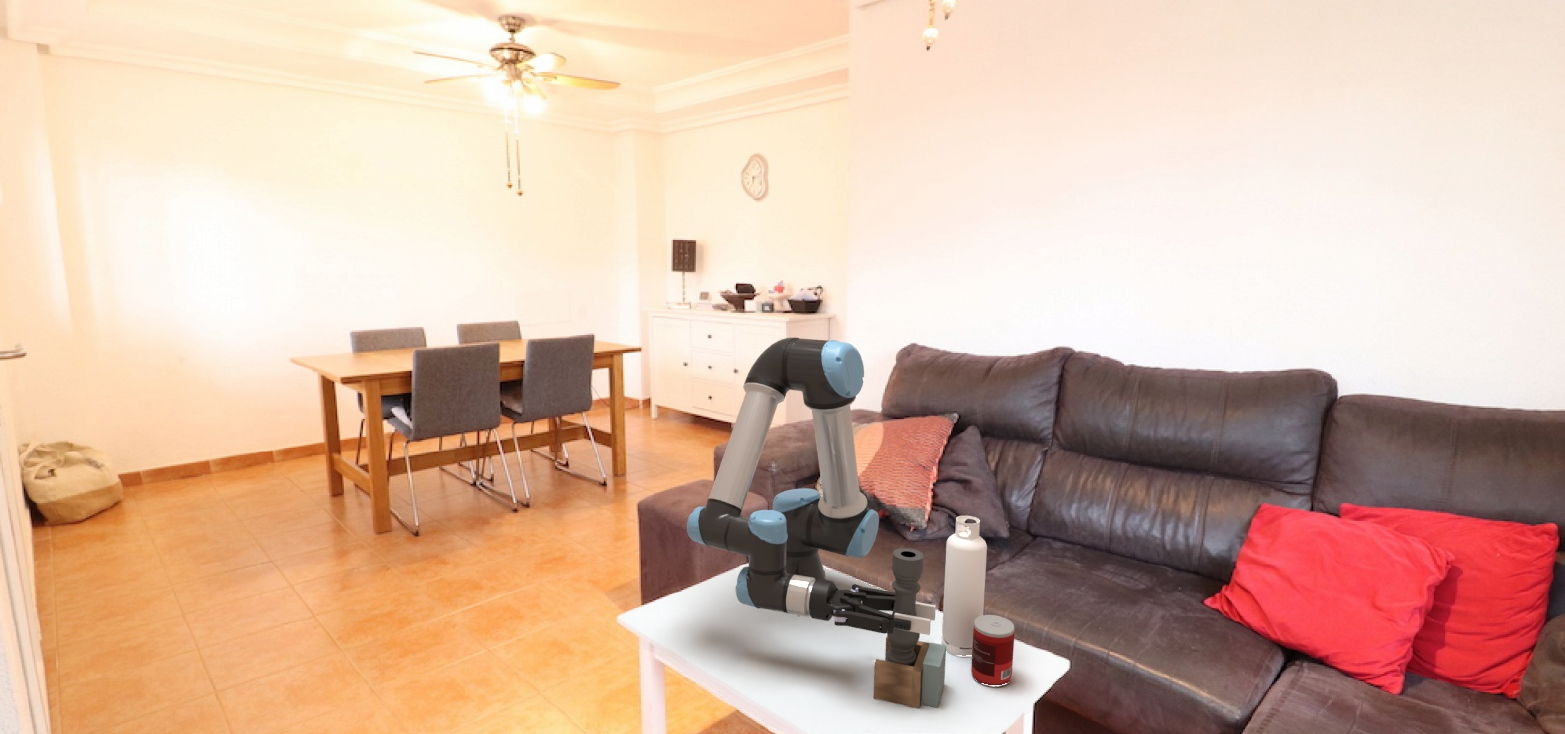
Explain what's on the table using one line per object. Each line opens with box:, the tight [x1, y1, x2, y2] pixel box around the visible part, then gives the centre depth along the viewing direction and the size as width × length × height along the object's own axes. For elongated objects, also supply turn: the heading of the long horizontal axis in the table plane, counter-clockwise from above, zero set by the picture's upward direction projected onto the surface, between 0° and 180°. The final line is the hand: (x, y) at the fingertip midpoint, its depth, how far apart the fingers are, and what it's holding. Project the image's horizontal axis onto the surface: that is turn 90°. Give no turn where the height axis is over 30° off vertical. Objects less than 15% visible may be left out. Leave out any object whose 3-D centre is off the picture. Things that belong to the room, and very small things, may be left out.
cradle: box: [872, 635, 930, 709], centre depth 139 cm, size 8×11×7 cm
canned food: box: [970, 614, 1016, 685], centre depth 143 cm, size 8×8×11 cm
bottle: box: [941, 515, 988, 656], centre depth 153 cm, size 8×8×28 cm
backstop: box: [920, 642, 947, 709], centre depth 137 cm, size 3×8×8 cm, turn 159°
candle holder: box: [884, 547, 925, 667], centre depth 138 cm, size 6×6×25 cm
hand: (932, 619), depth 136 cm, fingers closed on candle holder, 5 cm apart
